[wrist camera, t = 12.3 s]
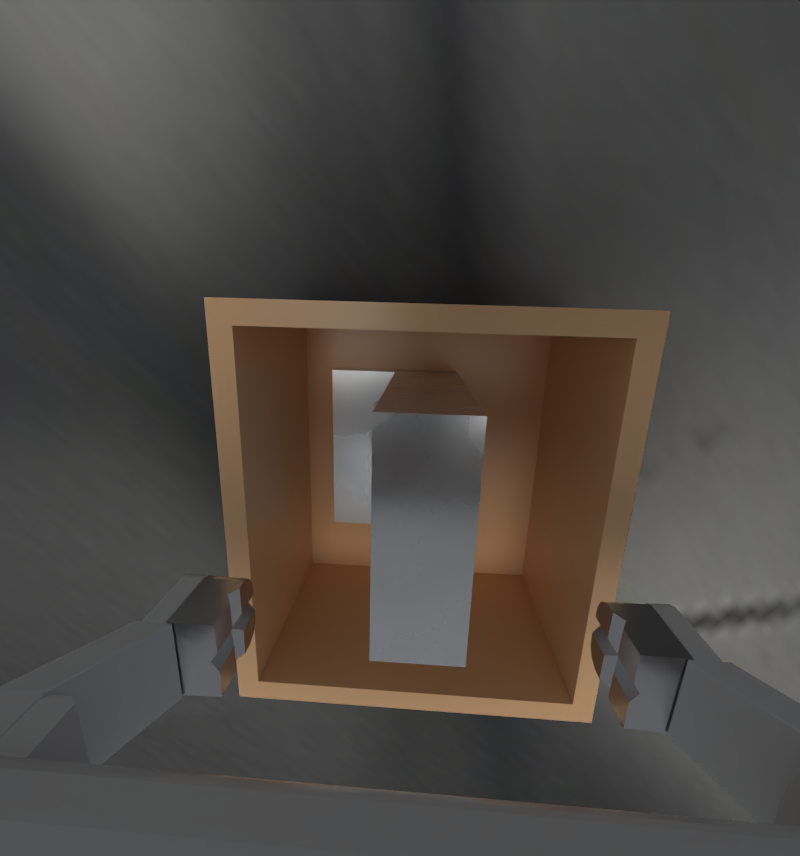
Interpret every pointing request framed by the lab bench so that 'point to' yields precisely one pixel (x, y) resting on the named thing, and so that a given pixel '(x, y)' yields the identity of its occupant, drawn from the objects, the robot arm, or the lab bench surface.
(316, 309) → the open box
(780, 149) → the lab bench surface
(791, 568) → the lab bench surface
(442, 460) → the aluminium bracket
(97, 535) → the lab bench surface
